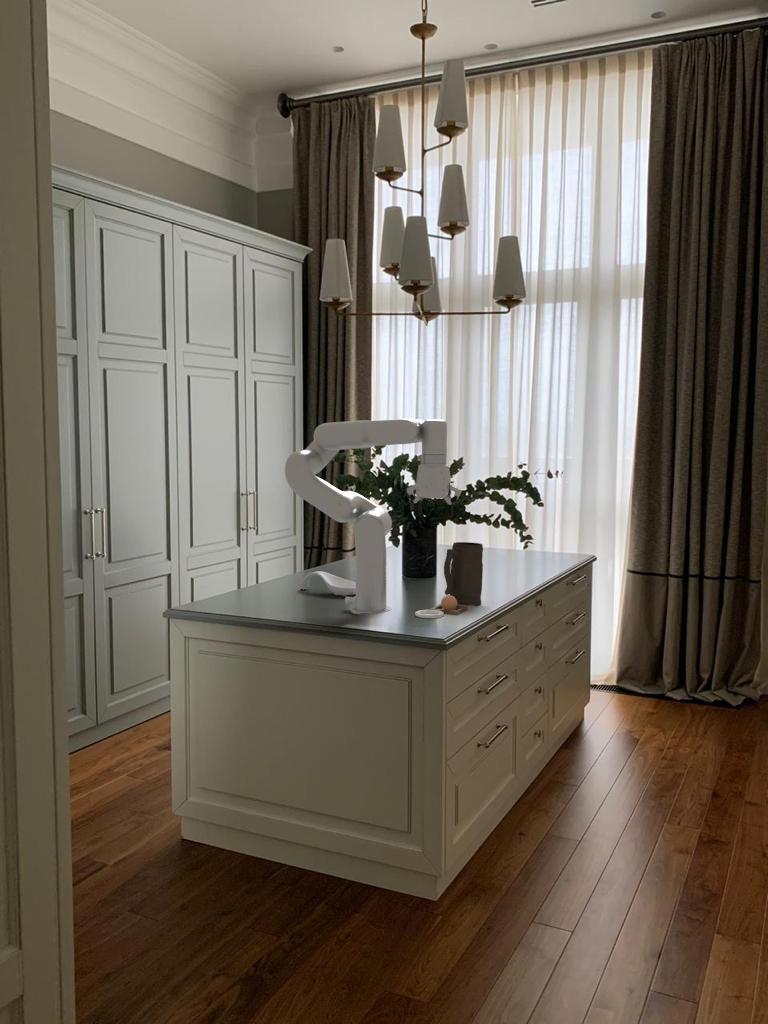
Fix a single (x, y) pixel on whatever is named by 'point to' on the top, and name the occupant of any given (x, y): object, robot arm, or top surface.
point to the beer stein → (464, 572)
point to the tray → (457, 612)
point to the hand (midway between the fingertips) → (433, 516)
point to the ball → (449, 603)
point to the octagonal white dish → (429, 613)
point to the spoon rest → (331, 583)
